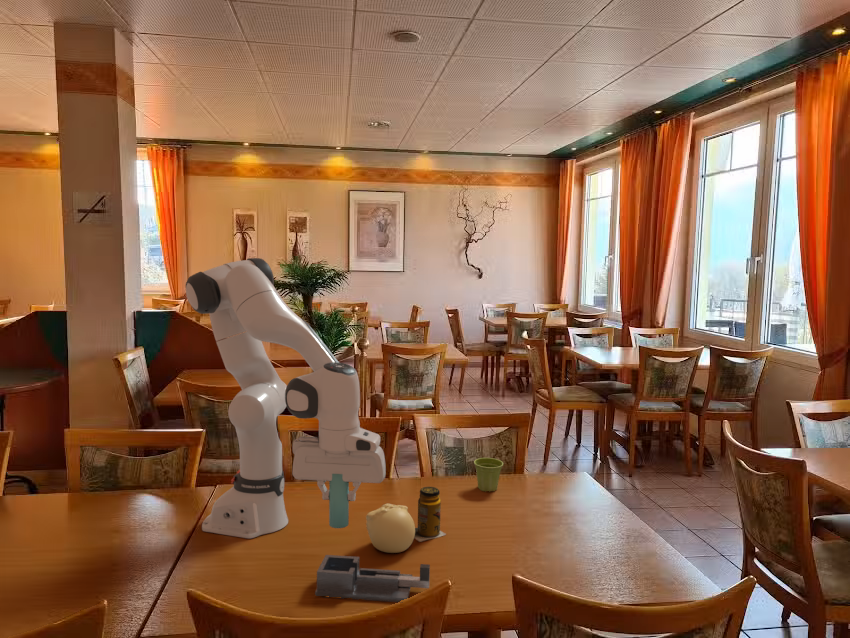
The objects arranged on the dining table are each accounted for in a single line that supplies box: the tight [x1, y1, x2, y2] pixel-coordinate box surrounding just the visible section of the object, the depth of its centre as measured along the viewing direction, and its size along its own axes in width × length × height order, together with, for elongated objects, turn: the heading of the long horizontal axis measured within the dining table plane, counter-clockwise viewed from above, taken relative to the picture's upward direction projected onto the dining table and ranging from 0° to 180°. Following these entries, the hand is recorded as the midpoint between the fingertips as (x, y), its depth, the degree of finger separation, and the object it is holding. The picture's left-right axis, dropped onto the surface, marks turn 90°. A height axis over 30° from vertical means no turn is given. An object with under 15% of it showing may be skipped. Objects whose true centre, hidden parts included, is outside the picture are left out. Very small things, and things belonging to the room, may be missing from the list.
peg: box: [328, 474, 350, 529], centre depth 136 cm, size 4×4×12 cm
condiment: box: [414, 486, 447, 543], centre depth 165 cm, size 7×8×12 cm
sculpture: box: [365, 503, 416, 554], centre depth 157 cm, size 12×12×11 cm
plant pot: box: [473, 457, 504, 493], centre depth 198 cm, size 9×9×9 cm
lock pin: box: [375, 563, 431, 589], centre depth 136 cm, size 12×2×5 cm, turn 85°
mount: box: [314, 554, 413, 603], centre depth 137 cm, size 20×10×5 cm, turn 85°
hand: (339, 499), depth 136 cm, fingers closed on peg, 4 cm apart
